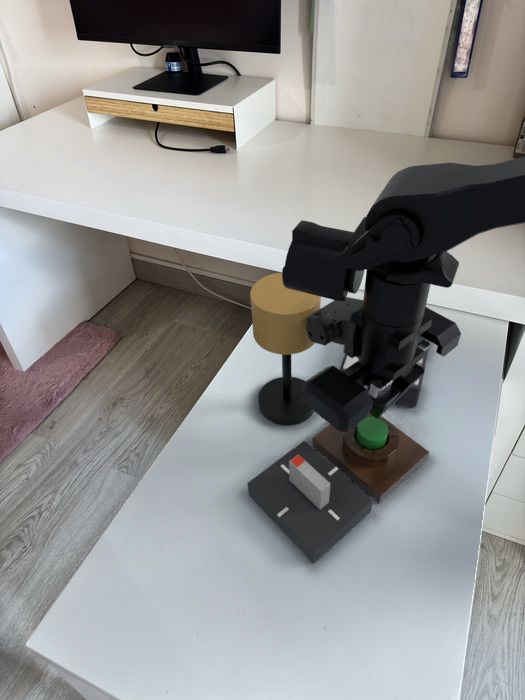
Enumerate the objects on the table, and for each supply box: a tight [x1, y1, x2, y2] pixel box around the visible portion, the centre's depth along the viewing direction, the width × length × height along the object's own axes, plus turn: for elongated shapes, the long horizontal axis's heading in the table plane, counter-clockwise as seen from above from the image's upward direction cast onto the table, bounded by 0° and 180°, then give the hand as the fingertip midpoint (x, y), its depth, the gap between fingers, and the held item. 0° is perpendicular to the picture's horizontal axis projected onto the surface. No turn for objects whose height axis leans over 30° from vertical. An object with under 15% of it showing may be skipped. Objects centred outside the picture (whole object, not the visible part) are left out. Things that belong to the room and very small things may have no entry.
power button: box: [356, 417, 388, 450], centre depth 60 cm, size 4×4×2 cm
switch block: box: [312, 412, 431, 504], centre depth 62 cm, size 11×9×4 cm
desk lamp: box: [249, 272, 322, 427], centre depth 63 cm, size 8×8×19 cm
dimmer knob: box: [289, 455, 330, 510], centre depth 55 cm, size 5×1×4 cm, turn 40°
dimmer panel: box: [246, 440, 374, 564], centre depth 58 cm, size 11×9×3 cm
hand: (375, 414), depth 58 cm, fingers closed
